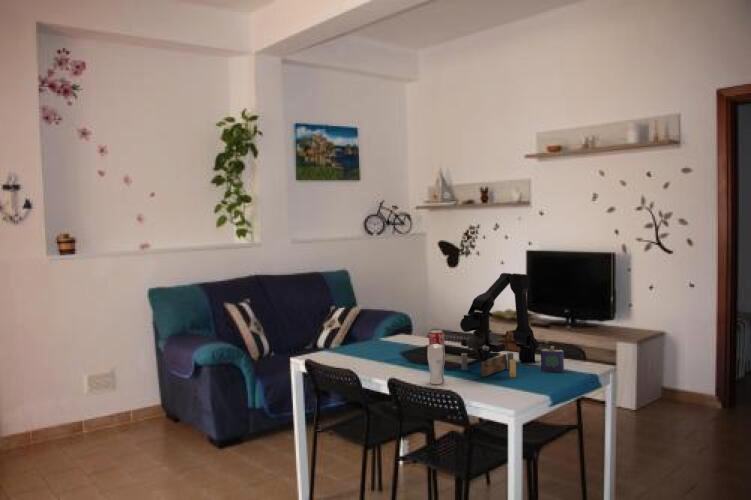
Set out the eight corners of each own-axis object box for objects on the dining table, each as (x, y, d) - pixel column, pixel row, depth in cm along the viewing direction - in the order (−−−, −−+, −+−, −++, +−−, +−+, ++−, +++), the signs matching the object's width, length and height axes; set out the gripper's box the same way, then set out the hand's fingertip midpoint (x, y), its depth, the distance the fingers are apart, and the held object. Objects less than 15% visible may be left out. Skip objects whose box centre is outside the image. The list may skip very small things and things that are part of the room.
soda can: (444, 354, 295) (443, 329, 294) (444, 358, 288) (444, 332, 287) (429, 354, 296) (428, 329, 295) (429, 358, 289) (428, 333, 288)
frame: (512, 368, 268) (512, 352, 268) (516, 377, 255) (516, 361, 254) (461, 368, 270) (461, 353, 270) (462, 377, 257) (462, 361, 257)
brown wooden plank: (504, 367, 268) (504, 353, 268) (509, 368, 267) (508, 354, 266) (481, 375, 258) (481, 361, 257) (485, 377, 256) (485, 362, 256)
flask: (563, 370, 262) (563, 345, 261) (563, 372, 259) (563, 347, 258) (541, 369, 264) (540, 345, 263) (540, 371, 261) (540, 346, 260)
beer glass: (427, 380, 256) (425, 344, 254) (443, 379, 256) (442, 343, 255) (429, 385, 249) (428, 348, 247) (447, 384, 249) (446, 347, 248)
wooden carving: (497, 351, 296) (497, 331, 295) (498, 349, 301) (497, 328, 300) (533, 352, 292) (533, 331, 292) (533, 350, 297) (532, 329, 296)
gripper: (452, 328, 260) (453, 365, 261) (489, 334, 246) (489, 373, 248) (469, 323, 268) (469, 359, 269) (505, 329, 254) (506, 367, 256)
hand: (482, 364), depth 260 cm, fingers closed
